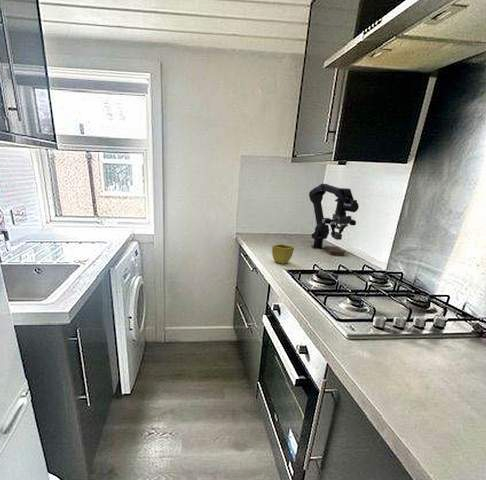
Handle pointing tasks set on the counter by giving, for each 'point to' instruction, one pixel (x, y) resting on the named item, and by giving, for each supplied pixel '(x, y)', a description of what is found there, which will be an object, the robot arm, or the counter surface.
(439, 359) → the counter surface
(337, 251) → the stand
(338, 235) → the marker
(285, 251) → the flower pot
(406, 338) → the counter surface
